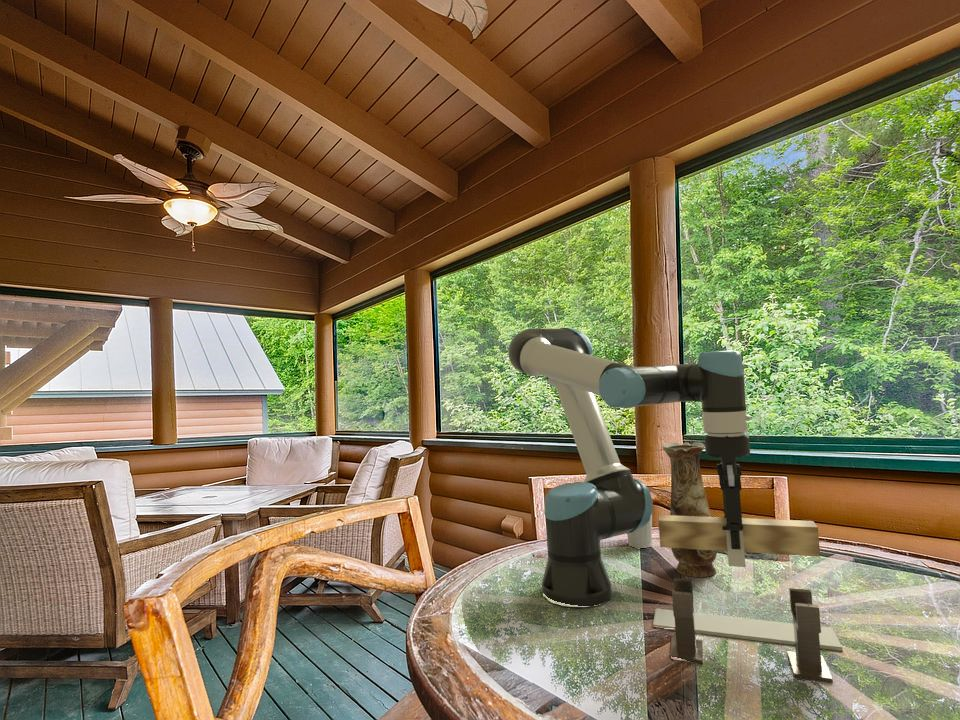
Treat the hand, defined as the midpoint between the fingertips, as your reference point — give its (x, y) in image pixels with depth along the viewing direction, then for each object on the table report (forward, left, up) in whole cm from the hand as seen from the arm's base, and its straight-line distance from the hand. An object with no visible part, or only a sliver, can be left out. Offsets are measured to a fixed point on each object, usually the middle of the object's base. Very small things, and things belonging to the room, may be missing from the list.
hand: (736, 561), depth 96 cm
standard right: (+9, -10, -12) cm, 19 cm away
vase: (-8, +28, -13) cm, 32 cm away
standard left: (-9, -10, -12) cm, 19 cm away
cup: (-22, +44, -13) cm, 51 cm away
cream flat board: (0, 0, -12) cm, 12 cm away
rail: (0, 0, +2) cm, 2 cm away
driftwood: (+1, +44, -13) cm, 46 cm away
